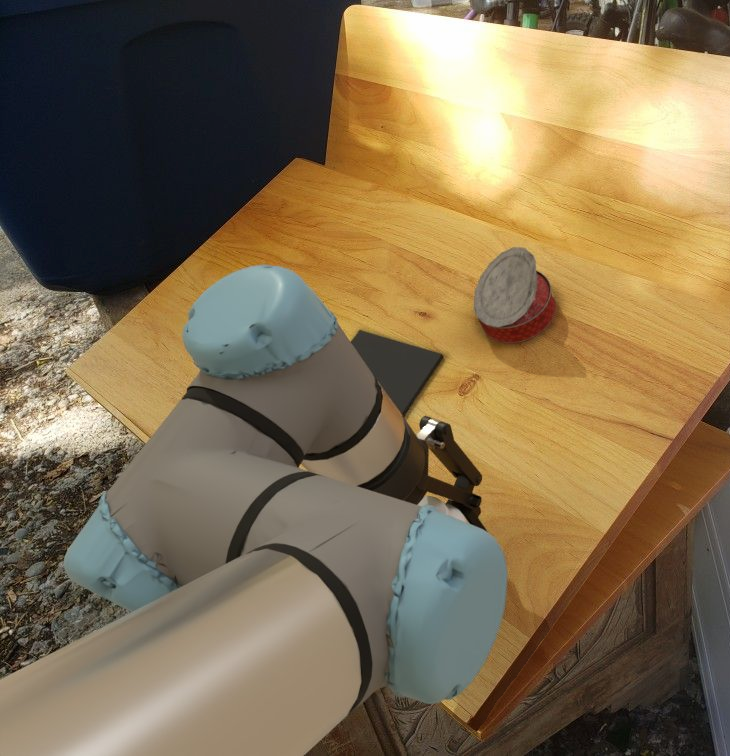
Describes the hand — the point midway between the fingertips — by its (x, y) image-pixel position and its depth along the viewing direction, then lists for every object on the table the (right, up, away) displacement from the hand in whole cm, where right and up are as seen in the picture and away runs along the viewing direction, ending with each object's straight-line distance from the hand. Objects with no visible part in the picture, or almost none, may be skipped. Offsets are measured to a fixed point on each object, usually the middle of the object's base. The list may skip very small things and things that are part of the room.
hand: (461, 566), depth 66 cm
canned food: (+6, +26, +19) cm, 33 cm away
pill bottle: (0, 0, 0) cm, 1 cm away
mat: (-13, +17, +18) cm, 28 cm away
